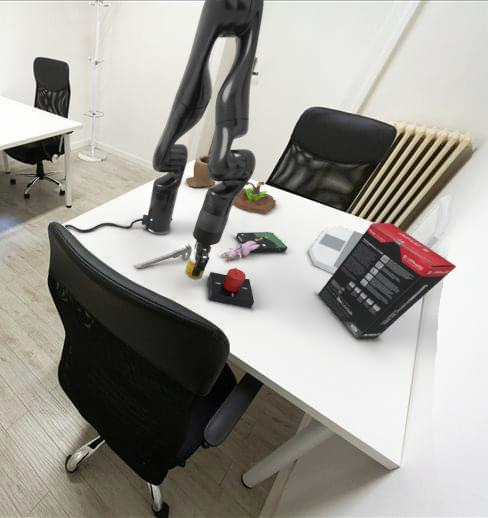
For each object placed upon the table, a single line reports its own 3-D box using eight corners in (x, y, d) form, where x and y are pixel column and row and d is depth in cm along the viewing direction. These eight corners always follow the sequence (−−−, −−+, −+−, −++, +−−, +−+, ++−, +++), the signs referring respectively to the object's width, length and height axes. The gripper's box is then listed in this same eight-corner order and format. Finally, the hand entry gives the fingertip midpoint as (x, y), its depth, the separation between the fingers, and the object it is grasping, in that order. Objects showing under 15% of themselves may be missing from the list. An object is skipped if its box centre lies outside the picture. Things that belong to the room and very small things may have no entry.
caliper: (187, 256, 104) (192, 242, 100) (189, 258, 103) (193, 244, 99) (135, 267, 98) (138, 252, 94) (137, 269, 97) (139, 254, 93)
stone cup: (193, 191, 144) (201, 162, 135) (182, 181, 153) (189, 152, 143) (220, 189, 147) (229, 160, 138) (208, 179, 156) (216, 151, 147)
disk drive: (247, 254, 106) (285, 253, 108) (250, 248, 104) (288, 247, 106) (234, 238, 114) (269, 236, 116) (237, 232, 112) (272, 231, 114)
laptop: (327, 226, 123) (366, 166, 106) (398, 253, 110) (455, 189, 94) (302, 260, 105) (344, 193, 88) (383, 296, 92) (451, 227, 75)
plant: (223, 204, 135) (231, 181, 128) (235, 189, 148) (242, 168, 141) (269, 218, 127) (280, 194, 120) (277, 201, 140) (287, 179, 132)
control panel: (209, 300, 88) (212, 293, 86) (207, 278, 95) (210, 271, 93) (250, 308, 86) (254, 301, 84) (246, 285, 93) (249, 278, 91)
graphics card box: (379, 340, 79) (463, 264, 61) (355, 341, 78) (433, 265, 61) (335, 294, 92) (394, 221, 74) (314, 294, 91) (369, 221, 74)
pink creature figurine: (229, 267, 102) (263, 252, 105) (232, 255, 98) (267, 239, 101) (217, 257, 106) (250, 242, 109) (219, 244, 102) (253, 230, 105)
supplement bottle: (182, 268, 93) (189, 245, 87) (198, 268, 93) (206, 244, 87) (187, 280, 89) (195, 256, 83) (204, 280, 89) (213, 256, 83)
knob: (241, 293, 86) (247, 280, 83) (224, 290, 87) (229, 277, 84) (238, 281, 90) (244, 269, 87) (221, 279, 91) (227, 266, 87)
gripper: (196, 208, 85) (183, 253, 96) (196, 236, 74) (181, 282, 85) (223, 212, 83) (206, 257, 94) (227, 241, 73) (208, 287, 84)
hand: (195, 269), depth 90 cm, fingers closed on supplement bottle, 5 cm apart
